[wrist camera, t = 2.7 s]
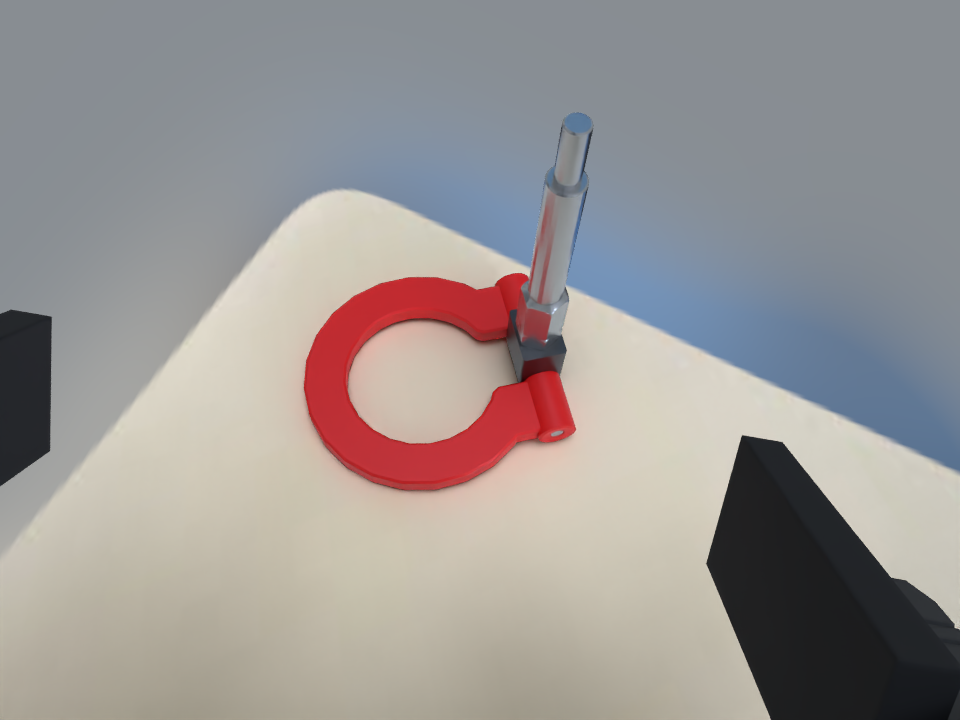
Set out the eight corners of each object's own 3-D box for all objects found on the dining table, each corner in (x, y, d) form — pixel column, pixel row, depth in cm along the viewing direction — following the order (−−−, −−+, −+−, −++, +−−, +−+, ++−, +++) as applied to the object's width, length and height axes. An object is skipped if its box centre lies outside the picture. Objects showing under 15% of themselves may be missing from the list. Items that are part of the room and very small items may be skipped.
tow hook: (326, 517, 28) (582, 462, 30) (244, 335, 17) (666, 257, 18) (294, 313, 32) (523, 271, 33) (209, 50, 21) (562, 2, 22)
